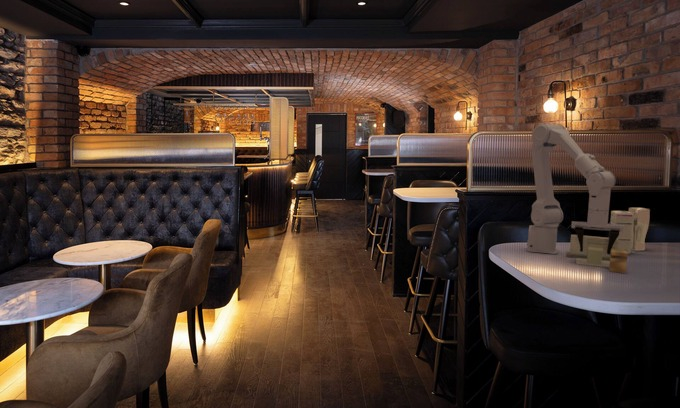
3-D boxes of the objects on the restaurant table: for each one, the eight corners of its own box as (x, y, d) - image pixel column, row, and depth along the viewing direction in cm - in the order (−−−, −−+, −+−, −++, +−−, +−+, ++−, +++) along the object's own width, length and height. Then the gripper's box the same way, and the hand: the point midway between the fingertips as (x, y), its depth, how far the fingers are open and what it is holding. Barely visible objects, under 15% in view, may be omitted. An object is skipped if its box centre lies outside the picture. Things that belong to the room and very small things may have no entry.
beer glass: (634, 246, 188) (638, 207, 186) (651, 250, 181) (655, 209, 179) (619, 247, 186) (623, 207, 184) (636, 251, 179) (640, 210, 177)
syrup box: (631, 254, 174) (634, 213, 172) (612, 253, 175) (616, 212, 174) (625, 251, 180) (628, 210, 178) (607, 250, 181) (610, 210, 179)
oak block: (610, 271, 150) (611, 251, 149) (609, 268, 153) (610, 249, 153) (625, 273, 148) (627, 253, 147) (624, 270, 152) (626, 250, 151)
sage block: (587, 262, 158) (588, 243, 158) (586, 260, 162) (588, 241, 161) (601, 264, 157) (603, 245, 156) (600, 261, 160) (602, 243, 160)
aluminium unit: (566, 256, 169) (567, 236, 168) (566, 253, 173) (567, 233, 172) (620, 262, 162) (622, 240, 161) (619, 259, 167) (621, 238, 166)
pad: (576, 264, 158) (576, 262, 158) (576, 259, 165) (576, 258, 165) (612, 267, 154) (612, 266, 154) (610, 263, 161) (610, 261, 161)
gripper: (573, 209, 157) (569, 252, 158) (626, 213, 151) (622, 257, 152) (572, 207, 163) (569, 248, 165) (623, 210, 157) (619, 253, 159)
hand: (594, 252), depth 159 cm, fingers open, 7 cm apart
